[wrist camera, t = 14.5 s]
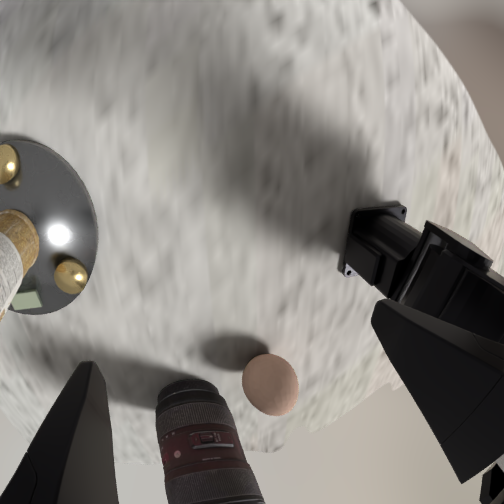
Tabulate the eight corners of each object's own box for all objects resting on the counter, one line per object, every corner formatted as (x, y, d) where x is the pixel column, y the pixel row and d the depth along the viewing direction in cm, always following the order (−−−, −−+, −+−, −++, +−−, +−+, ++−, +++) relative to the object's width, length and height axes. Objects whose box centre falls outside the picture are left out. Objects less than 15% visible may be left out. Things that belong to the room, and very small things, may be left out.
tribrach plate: (82, 119, 14) (75, 120, 13) (116, 296, 20) (115, 311, 19) (-58, 167, 11) (-71, 174, 9) (-11, 313, 17) (-17, 326, 15)
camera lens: (135, 395, 26) (155, 530, 14) (196, 363, 26) (241, 512, 14) (181, 422, 30) (210, 533, 18) (237, 395, 31) (283, 511, 18)
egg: (255, 381, 30) (277, 430, 25) (224, 365, 27) (244, 422, 22) (291, 353, 30) (320, 402, 24) (263, 334, 27) (291, 389, 21)
